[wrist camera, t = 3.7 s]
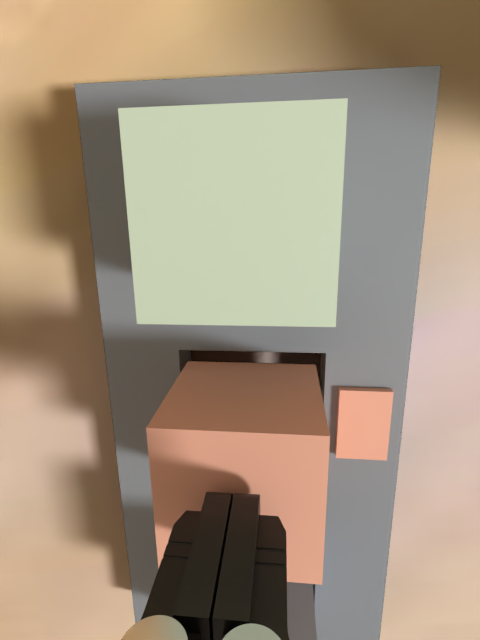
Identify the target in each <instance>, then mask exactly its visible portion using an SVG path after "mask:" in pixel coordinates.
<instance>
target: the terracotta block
mask: <svg viewBox="0 0 480 640" xmlns="http://www.w3.org/2000/svg"><path fill="white" fill-rule="evenodd" d="M146 432H147V444H148V455H149V466H150V478H151V489H152V500H153V512H154V523H155V534H156V546H157V557H158V568H159V566H160V563H161V560H162V559H163V554H164V552H165V549H166V546H167V544H168V540H169V537H170V534H171V531H172V528H173V525H174V524H175V522H176V521H177V520H178V519H179V518H180V517H181V516H182V515H183V513H184V512H185V511H186V510H188V511H201V509H202V505H203V502H204V498H205V495H206V492H223V493H233V496H234V493H243V494H260V515H268V516H279V518H280V520H281V522H282V524H283V526H284V528H285V530H286V549H287V550H286V553H287V582H295V583H307V584H319V585H322V581H323V562H324V543H325V524H326V505H327V486H328V466H329V447H330V433H329V428H328V423H327V418H326V413H325V408H324V403H323V399H322V394H321V389H320V384H319V379H318V374H317V369H316V365H314V364H275V363H236V362H198V361H188V362H187V363H186V365H185V367H184V368H183V370H182V371H181V373H180V375H179V376H178V378H177V379H176V381H175V383H174V384H173V386H172V387H171V389H170V391H169V392H168V394H167V395H166V397H165V399H164V400H163V402H162V403H161V405H160V407H159V408H158V410H157V411H156V413H155V415H154V416H153V418H152V419H151V421H150V423H149V424H148V426H147V427H146Z"/></svg>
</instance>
